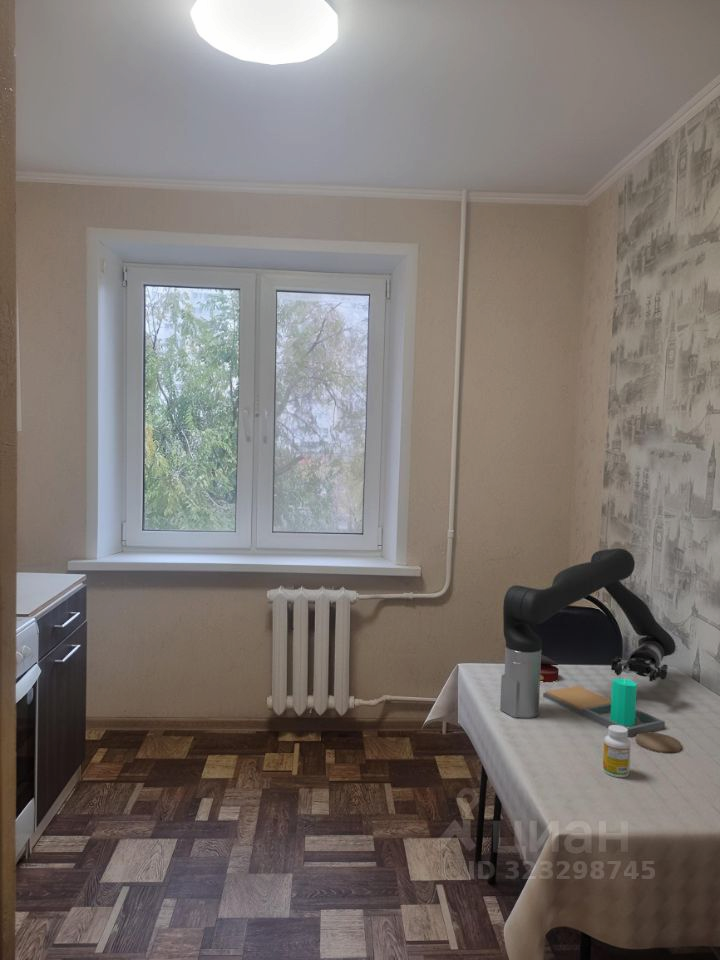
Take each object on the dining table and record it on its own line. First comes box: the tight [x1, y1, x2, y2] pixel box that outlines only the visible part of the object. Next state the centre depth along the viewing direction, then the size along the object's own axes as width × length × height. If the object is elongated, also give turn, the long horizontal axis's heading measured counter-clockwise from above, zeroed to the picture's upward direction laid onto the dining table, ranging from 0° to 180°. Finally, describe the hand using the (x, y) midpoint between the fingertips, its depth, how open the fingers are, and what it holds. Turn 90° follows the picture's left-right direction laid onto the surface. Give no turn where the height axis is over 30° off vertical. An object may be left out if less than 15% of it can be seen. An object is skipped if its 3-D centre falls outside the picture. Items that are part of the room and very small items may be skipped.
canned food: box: [540, 654, 559, 683], centre depth 216 cm, size 11×10×10 cm
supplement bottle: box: [602, 725, 631, 778], centre depth 153 cm, size 5×5×10 cm
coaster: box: [635, 731, 682, 754], centre depth 169 cm, size 10×10×1 cm
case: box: [542, 685, 666, 738], centre depth 189 cm, size 13×30×2 cm, turn 27°
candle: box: [609, 675, 638, 727], centre depth 182 cm, size 6×6×12 cm
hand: (634, 674), depth 191 cm, fingers open, 8 cm apart
